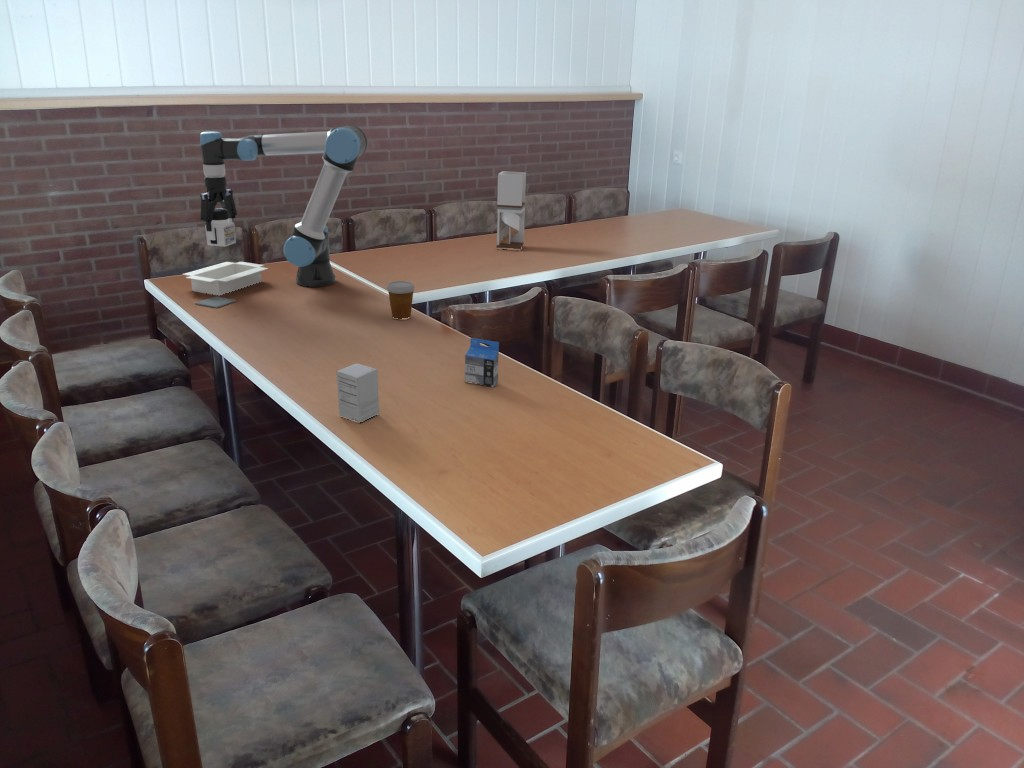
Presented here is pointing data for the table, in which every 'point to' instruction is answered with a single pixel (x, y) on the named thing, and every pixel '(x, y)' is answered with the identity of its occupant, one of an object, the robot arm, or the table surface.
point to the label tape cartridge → (482, 362)
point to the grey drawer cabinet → (358, 392)
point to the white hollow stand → (511, 209)
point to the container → (222, 229)
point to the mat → (215, 302)
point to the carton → (225, 277)
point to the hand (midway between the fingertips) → (221, 237)
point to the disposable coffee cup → (401, 298)
